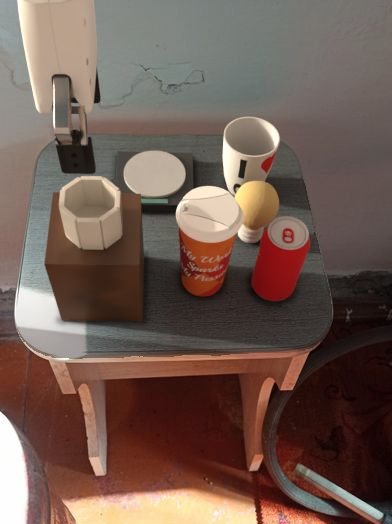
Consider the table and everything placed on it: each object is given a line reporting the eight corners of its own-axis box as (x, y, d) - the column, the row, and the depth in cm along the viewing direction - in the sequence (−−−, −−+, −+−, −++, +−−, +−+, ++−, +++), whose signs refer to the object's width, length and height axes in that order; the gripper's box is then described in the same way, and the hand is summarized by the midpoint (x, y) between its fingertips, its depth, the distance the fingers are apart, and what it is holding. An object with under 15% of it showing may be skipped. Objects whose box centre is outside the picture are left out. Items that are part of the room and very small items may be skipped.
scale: (115, 210, 86) (114, 201, 84) (118, 158, 91) (117, 148, 89) (193, 212, 87) (194, 203, 85) (192, 159, 92) (192, 150, 90)
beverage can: (293, 270, 83) (313, 215, 72) (293, 306, 80) (313, 254, 69) (251, 265, 83) (264, 210, 72) (249, 301, 80) (262, 248, 69)
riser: (61, 320, 77) (44, 264, 65) (68, 255, 82) (52, 191, 70) (142, 321, 77) (139, 264, 66) (144, 256, 82) (141, 193, 71)
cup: (225, 209, 87) (233, 160, 78) (211, 171, 91) (217, 120, 82) (275, 200, 89) (287, 151, 80) (258, 163, 92) (269, 113, 83)
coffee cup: (172, 301, 79) (174, 232, 66) (175, 254, 83) (177, 180, 69) (231, 305, 79) (245, 237, 66) (231, 258, 83) (245, 184, 70)
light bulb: (269, 220, 87) (281, 172, 78) (271, 253, 84) (284, 207, 75) (228, 218, 86) (235, 170, 78) (228, 251, 84) (236, 205, 75)
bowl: (63, 249, 66) (56, 221, 62) (68, 205, 69) (61, 175, 65) (121, 250, 67) (119, 222, 62) (123, 206, 70) (121, 176, 65)
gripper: (11, -116, 44) (51, 76, 60) (-20, 19, 37) (35, 201, 52) (107, -113, 45) (122, 77, 60) (96, 22, 37) (117, 202, 52)
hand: (82, 135), depth 56 cm, fingers open, 9 cm apart
